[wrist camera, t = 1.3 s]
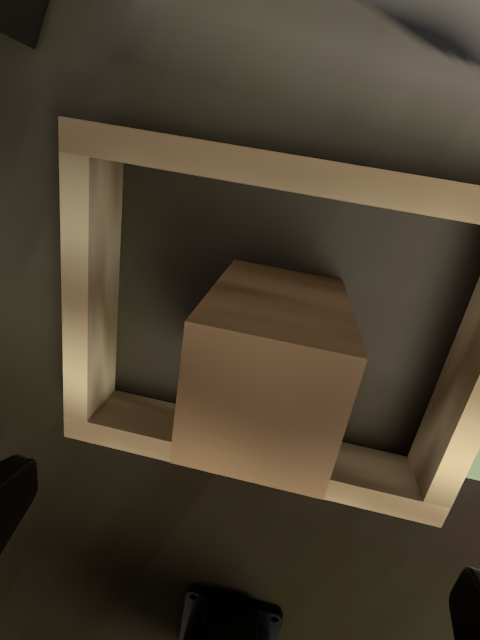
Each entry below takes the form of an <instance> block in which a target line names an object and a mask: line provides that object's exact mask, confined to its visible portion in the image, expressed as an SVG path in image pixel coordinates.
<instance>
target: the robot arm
mask: <svg viewBox="0 0 480 640" xmlns="http://www.w3.org/2000/svg"><path fill="white" fill-rule="evenodd" d="M37 489H38V478H37V462H36V460H35V459H34V458H33V457H29V456H25V455H20V454H16V455H13V456H11V457H8V458H6V459H4V460H2V461H0V554H1V553H2V551H3V549H4V548H5V546H6V544H7V543H8V541H9V539H10V538H11V536H12V534H13V533H14V531H15V529H16V528H17V526H18V524H19V523H20V521H21V519H22V518H23V516H24V514H25V513H26V511H27V509H28V508H29V506H30V504H31V503H32V501H33V499H34V498H35V495H36V493H37ZM449 608H450V614H451V621H452V627H453V633H454V639H455V640H480V569H477V568H473V567H465V568H464V569H463V570H462V572H461V573H460V575H459V577H458V579H457V581H456V583H455V584H454V586H453V588H452V590H451V592H450V596H449ZM282 617H283V613H282V611H281V610H279V609H277V608H274V607H270V606H266V605H263V604H259V603H255V602H251V601H248V600H244V599H240V598H237V597H233V596H229V595H225V594H222V593H218V592H214V591H211V590H207V589H203V588H200V587H196V586H190V587H188V589H187V593H186V597H185V603H184V610H183V616H182V623H181V629H180V635H179V640H277V637H278V634H279V631H280V627H281V624H282Z"/></svg>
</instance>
